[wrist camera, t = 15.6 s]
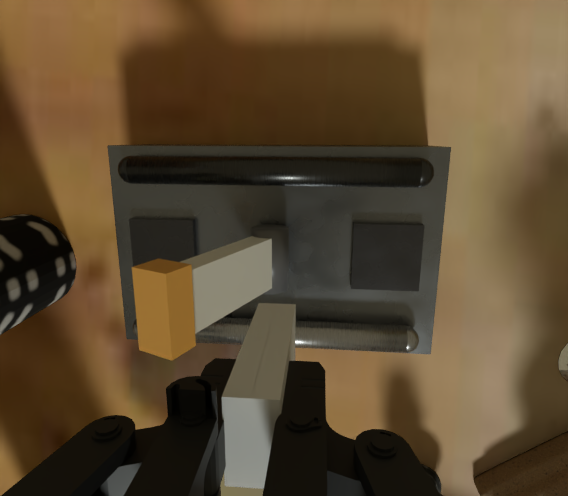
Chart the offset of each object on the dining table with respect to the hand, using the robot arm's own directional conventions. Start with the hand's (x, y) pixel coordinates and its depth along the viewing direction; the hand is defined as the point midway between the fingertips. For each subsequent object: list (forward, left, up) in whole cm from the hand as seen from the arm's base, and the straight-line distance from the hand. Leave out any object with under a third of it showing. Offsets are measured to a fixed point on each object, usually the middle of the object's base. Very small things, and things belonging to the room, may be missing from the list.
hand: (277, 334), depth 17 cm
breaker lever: (-1, +1, -11) cm, 11 cm away
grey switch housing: (-1, +1, -18) cm, 18 cm away
